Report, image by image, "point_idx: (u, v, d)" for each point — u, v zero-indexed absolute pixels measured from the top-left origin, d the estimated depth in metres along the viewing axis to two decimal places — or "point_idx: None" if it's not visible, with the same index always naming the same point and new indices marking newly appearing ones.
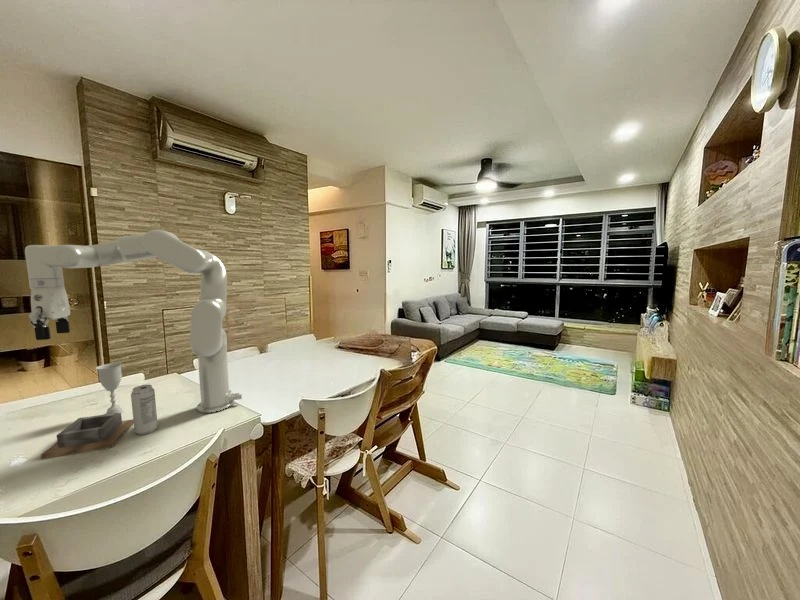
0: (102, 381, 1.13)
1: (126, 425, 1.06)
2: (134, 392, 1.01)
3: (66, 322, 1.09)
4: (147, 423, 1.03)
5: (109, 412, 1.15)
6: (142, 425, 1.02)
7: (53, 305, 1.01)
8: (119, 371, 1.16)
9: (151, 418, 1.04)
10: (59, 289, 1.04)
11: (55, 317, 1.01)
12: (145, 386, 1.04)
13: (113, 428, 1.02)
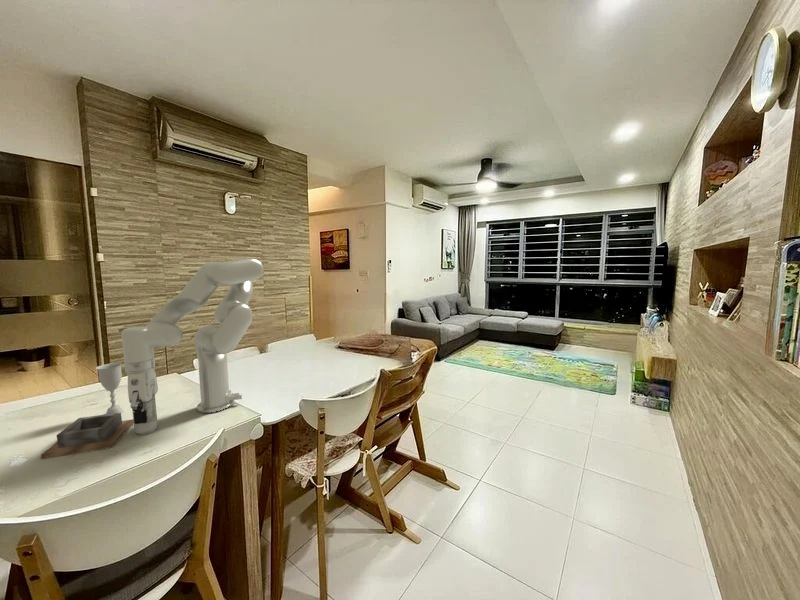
0: (102, 381, 1.13)
1: (126, 425, 1.06)
2: None
3: None
4: (147, 423, 1.03)
5: (109, 412, 1.15)
6: (142, 425, 1.02)
7: (148, 388, 1.01)
8: (119, 371, 1.16)
9: (151, 418, 1.04)
10: None
11: (149, 399, 1.02)
12: None
13: (113, 428, 1.02)
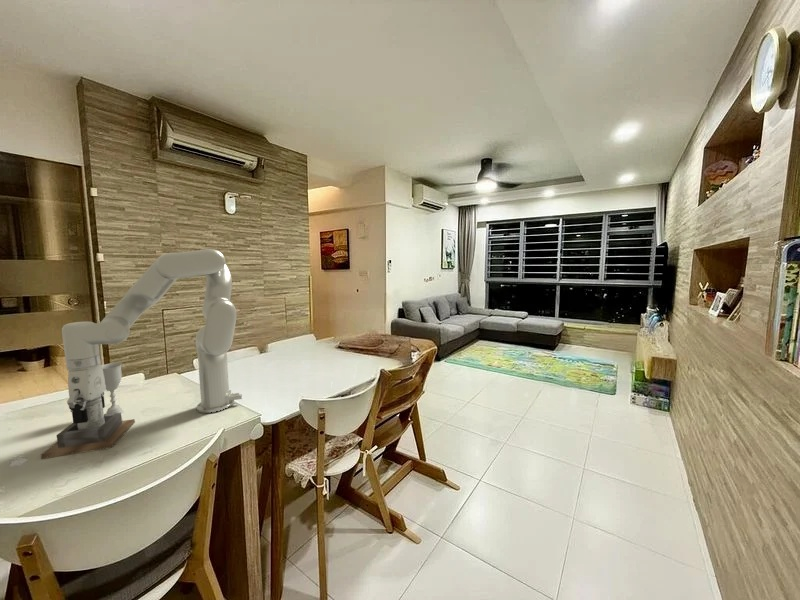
0: None
1: (126, 425, 1.06)
2: None
3: (101, 397, 1.04)
4: (92, 427, 0.98)
5: (109, 412, 1.15)
6: None
7: (91, 386, 0.96)
8: (119, 371, 1.16)
9: (97, 421, 0.99)
10: (96, 366, 0.99)
11: (92, 398, 0.96)
12: None
13: (113, 428, 1.02)
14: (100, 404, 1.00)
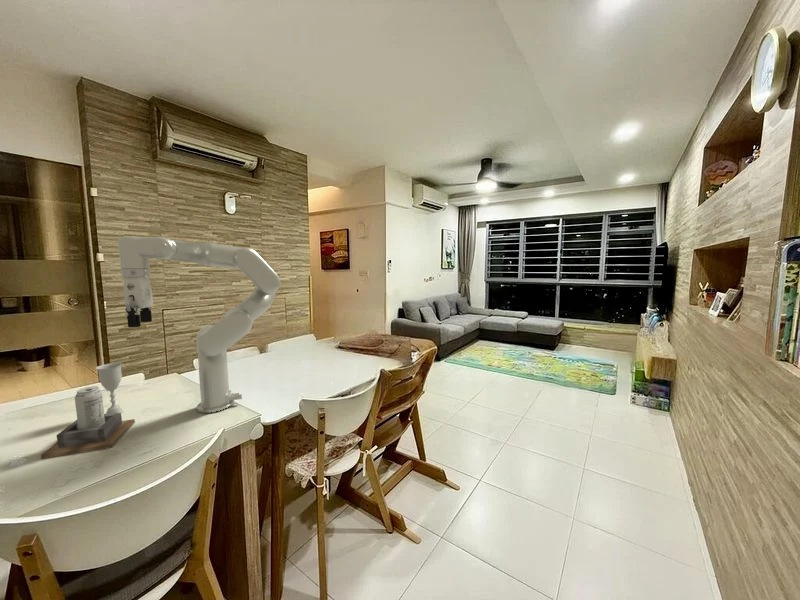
0: (102, 381, 1.13)
1: (126, 425, 1.06)
2: (78, 394, 0.96)
3: (149, 311, 1.13)
4: (93, 427, 0.98)
5: (109, 412, 1.15)
6: None
7: (143, 294, 1.05)
8: (119, 371, 1.16)
9: (97, 421, 0.99)
10: (146, 279, 1.08)
11: (144, 306, 1.06)
12: (90, 388, 0.99)
13: (113, 428, 1.02)
14: (101, 404, 1.00)
